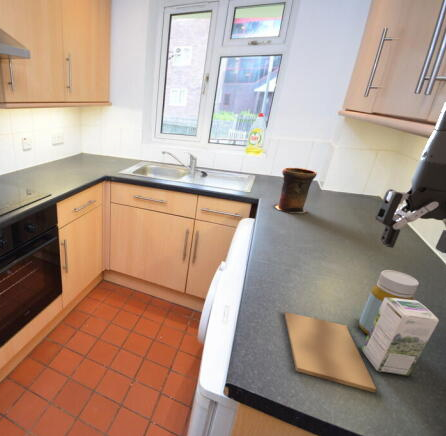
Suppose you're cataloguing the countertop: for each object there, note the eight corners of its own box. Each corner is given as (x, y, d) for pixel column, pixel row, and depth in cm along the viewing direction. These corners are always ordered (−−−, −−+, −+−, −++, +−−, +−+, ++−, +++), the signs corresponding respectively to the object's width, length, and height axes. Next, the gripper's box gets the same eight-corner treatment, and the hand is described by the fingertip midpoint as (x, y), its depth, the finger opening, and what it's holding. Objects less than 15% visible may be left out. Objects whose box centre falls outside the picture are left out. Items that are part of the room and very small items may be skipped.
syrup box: (390, 354, 64) (416, 298, 58) (409, 377, 58) (440, 318, 53) (360, 350, 65) (383, 294, 59) (377, 373, 59) (404, 314, 54)
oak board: (344, 328, 71) (346, 325, 70) (374, 393, 55) (376, 389, 55) (284, 315, 75) (285, 311, 74) (296, 371, 59) (297, 367, 59)
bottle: (399, 347, 66) (426, 290, 60) (360, 335, 69) (383, 280, 63) (391, 328, 71) (415, 274, 66) (355, 317, 74) (375, 266, 69)
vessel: (297, 204, 157) (306, 167, 150) (312, 214, 144) (323, 173, 136) (269, 204, 157) (277, 166, 150) (282, 213, 144) (292, 173, 137)
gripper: (417, 161, 46) (381, 253, 52) (531, 167, 43) (479, 263, 49) (388, 153, 53) (359, 236, 59) (484, 158, 50) (444, 244, 56)
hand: (414, 248), depth 54 cm, fingers open, 8 cm apart
